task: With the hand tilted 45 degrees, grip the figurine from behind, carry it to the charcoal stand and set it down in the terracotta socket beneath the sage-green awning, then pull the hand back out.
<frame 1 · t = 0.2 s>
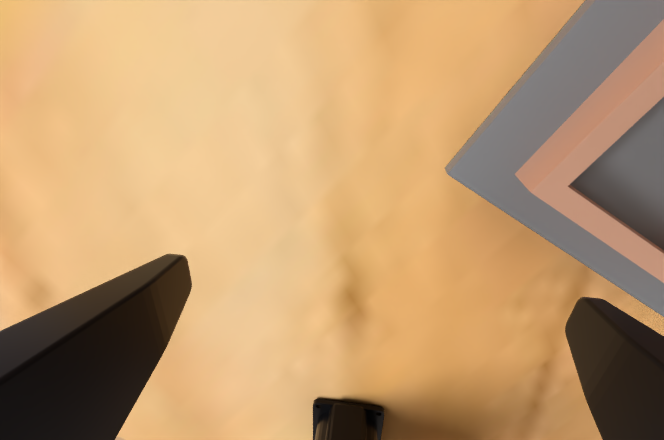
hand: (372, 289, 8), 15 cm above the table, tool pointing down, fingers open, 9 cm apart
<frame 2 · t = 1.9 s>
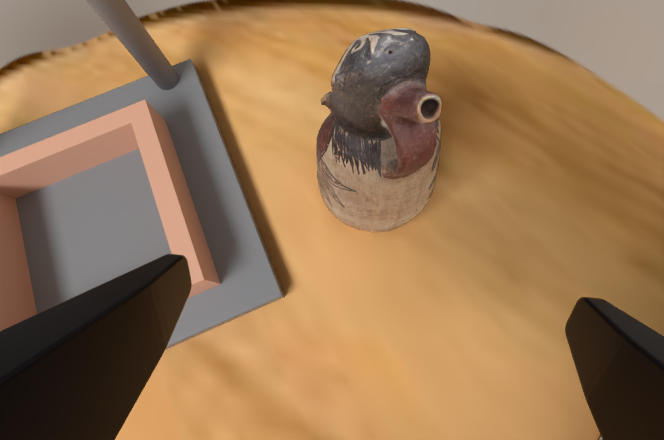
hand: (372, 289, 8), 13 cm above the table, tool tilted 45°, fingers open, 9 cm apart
figurine: (374, 183, 24), on the table
awning stand: (111, 238, 23), on the table
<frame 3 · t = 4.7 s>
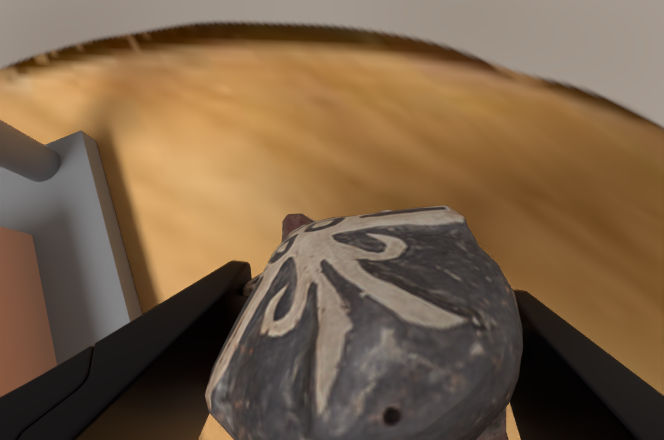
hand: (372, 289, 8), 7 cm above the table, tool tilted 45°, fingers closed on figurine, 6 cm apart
figurine: (363, 340, 15), on the table, touching gripper
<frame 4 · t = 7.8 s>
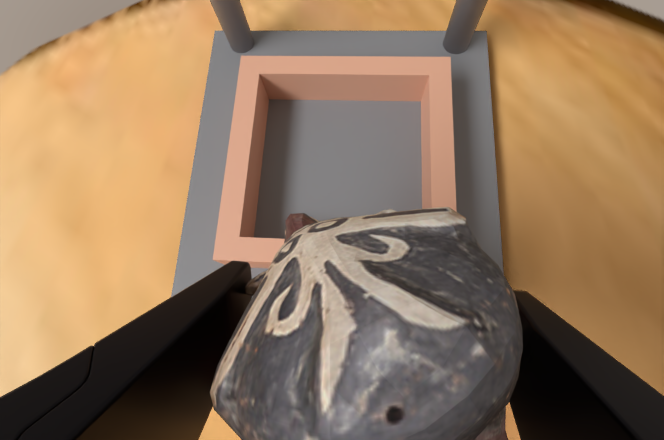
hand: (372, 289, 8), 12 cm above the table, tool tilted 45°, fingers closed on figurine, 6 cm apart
figurine: (363, 337, 15), point 5 cm above the table, touching gripper
awning stand: (340, 177, 22), on the table
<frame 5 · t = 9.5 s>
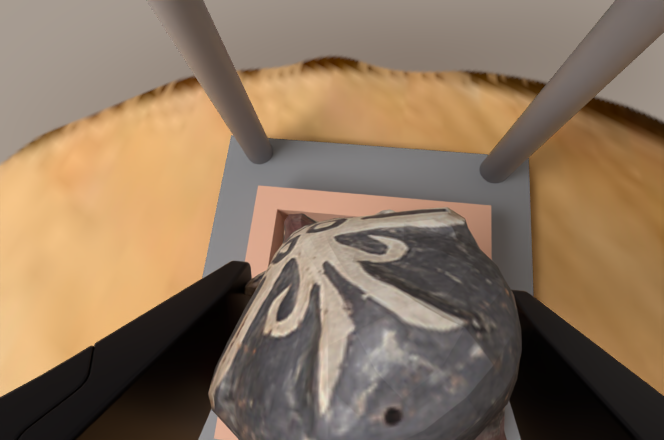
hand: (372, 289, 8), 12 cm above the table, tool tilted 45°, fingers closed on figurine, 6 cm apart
figurine: (362, 338, 15), point 6 cm above the table, touching gripper
awning stand: (359, 315, 20), on the table
when the fingers open (9 cm above the table, at t = 11.0 s): figurine drops 1 cm, resting on awning stand.
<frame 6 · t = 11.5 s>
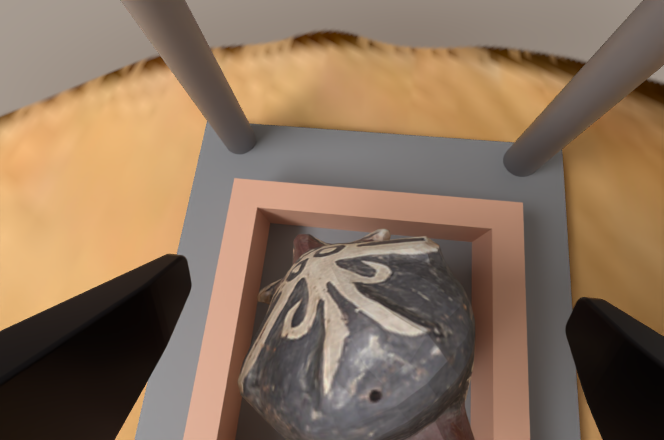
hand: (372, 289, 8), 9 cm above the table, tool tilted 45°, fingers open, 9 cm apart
figurine: (361, 339, 16), point 1 cm above the table, touching awning stand
awning stand: (359, 336, 17), on the table
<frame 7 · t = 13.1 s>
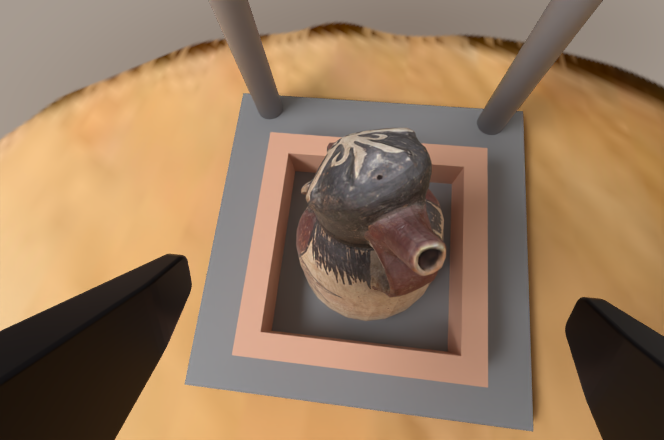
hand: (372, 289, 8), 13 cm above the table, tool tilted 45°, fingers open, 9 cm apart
figurine: (366, 256, 21), point 1 cm above the table, touching awning stand
awning stand: (364, 257, 22), on the table
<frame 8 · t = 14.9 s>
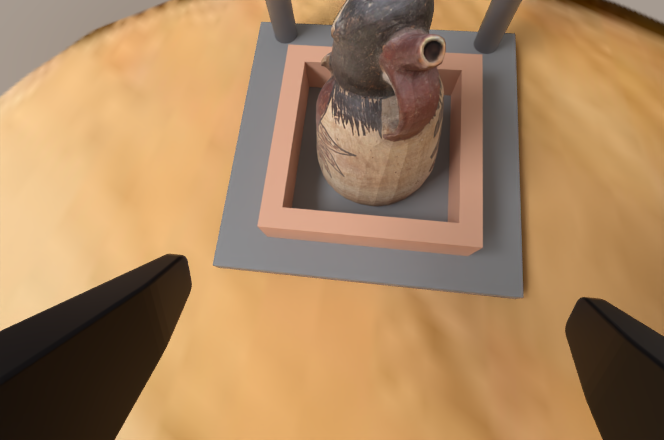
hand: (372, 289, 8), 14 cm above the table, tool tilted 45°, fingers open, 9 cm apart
figurine: (374, 157, 23), point 1 cm above the table, touching awning stand
awning stand: (372, 162, 24), on the table
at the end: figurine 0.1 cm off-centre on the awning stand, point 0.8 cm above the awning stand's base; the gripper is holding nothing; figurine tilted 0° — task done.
